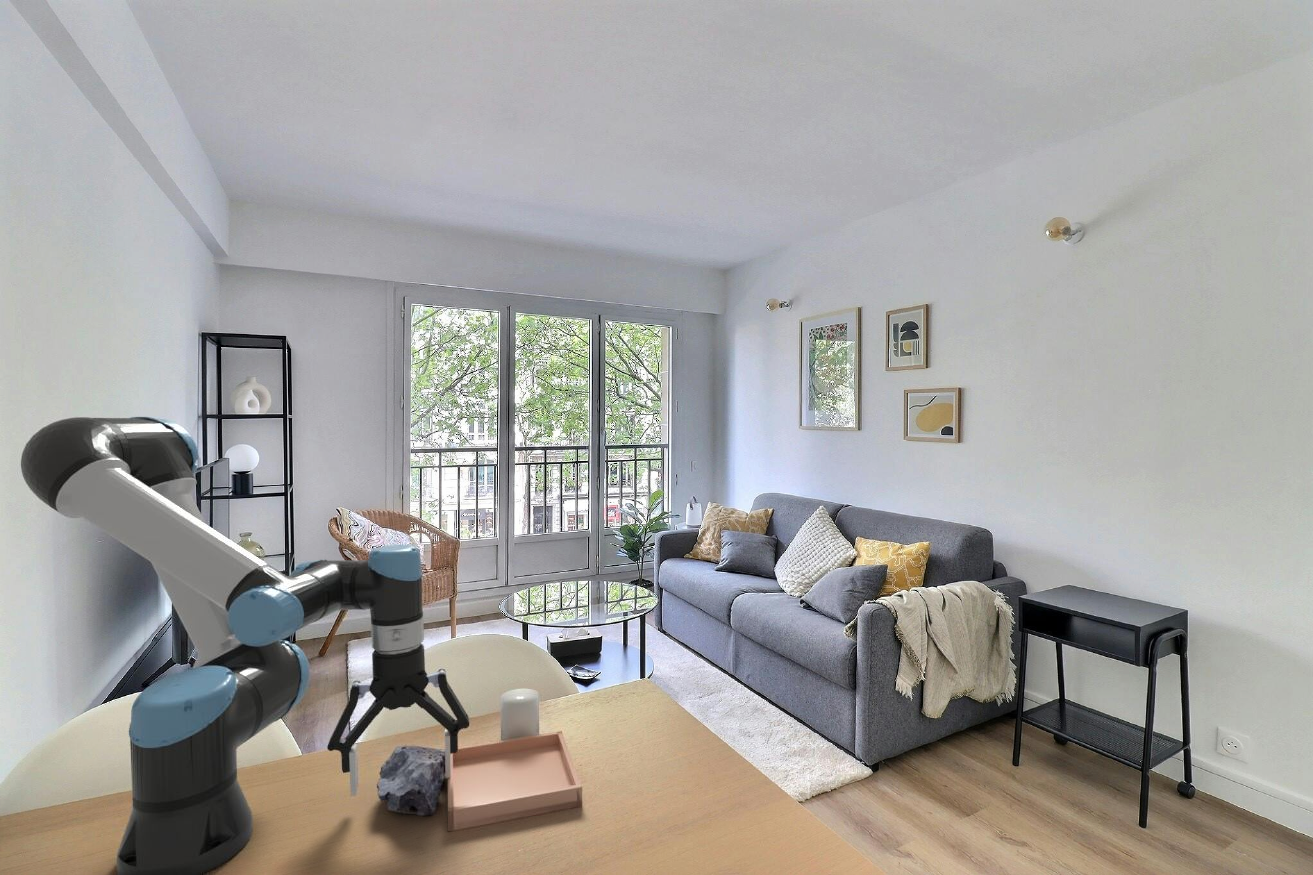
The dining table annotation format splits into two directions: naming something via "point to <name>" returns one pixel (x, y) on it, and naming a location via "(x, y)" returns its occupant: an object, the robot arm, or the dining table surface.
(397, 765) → the rock
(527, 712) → the white rounded cylinder
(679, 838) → the dining table surface
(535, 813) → the dish
